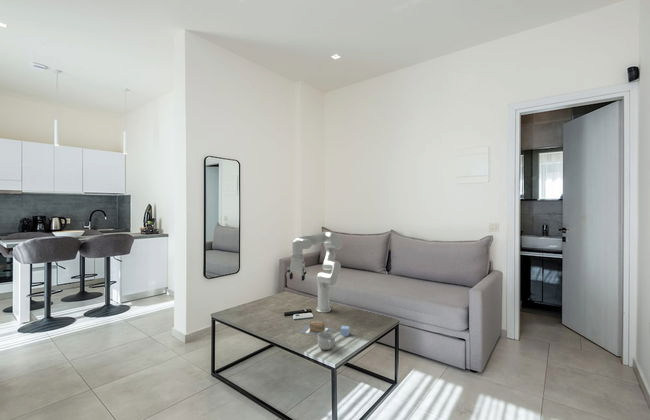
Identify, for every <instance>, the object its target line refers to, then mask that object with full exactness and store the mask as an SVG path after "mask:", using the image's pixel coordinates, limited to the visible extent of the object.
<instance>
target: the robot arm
mask: <svg viewBox="0 0 650 420" xmlns="http://www.w3.org/2000/svg"><path fill="white" fill-rule="evenodd" d="M321 244H323V246H324V249H325V257H324V260H323V262H322V266H321V268H322V270H323V271H320V272H318V273H317V274H316V283H317V306H316V308H315V311H316V312H318V313H323V314H324V313H329V312H331V311H332V308H331V307H330V286H335V285H336V284H337V282H338V279H339V276H340V273H341V270H342V269H341V268H342V267H341V266H342V265H341V263H340V262H339V261H338V260H335V259H336V256H337V255H336V252H335V250H341V249H342V248H343V241H342V240H341V238H340V237H339V236H338V235H337V234H336V233H335V232H333V231H320V232H318V233H315V234H310V235H304V236H298V237H296V238H295V239H294V240H292V251H291V253H292V255H291V256H292V257H291V260H290V265H289V266H287V267H286V271H287V272H288V274H289V280H292V279H293V278H294V277H293V276H294V273H301V281H302V282H304V281H305V279H306V275H307V273H308V271H309V269H308V268H307V267H305V260H304V259H305V255H304V254H303V250H309V249H311V248H312V246H318V245H321Z"/></svg>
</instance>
